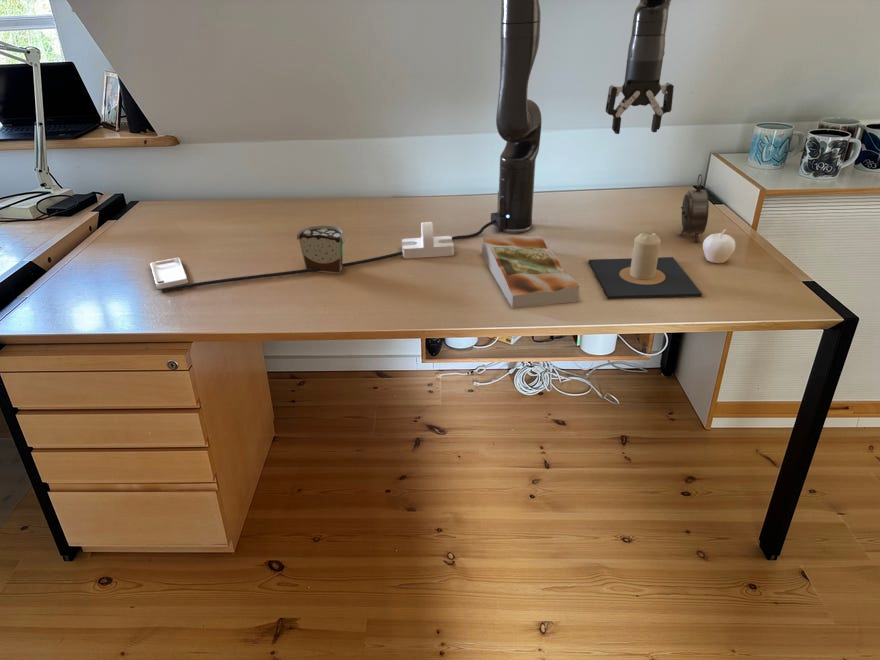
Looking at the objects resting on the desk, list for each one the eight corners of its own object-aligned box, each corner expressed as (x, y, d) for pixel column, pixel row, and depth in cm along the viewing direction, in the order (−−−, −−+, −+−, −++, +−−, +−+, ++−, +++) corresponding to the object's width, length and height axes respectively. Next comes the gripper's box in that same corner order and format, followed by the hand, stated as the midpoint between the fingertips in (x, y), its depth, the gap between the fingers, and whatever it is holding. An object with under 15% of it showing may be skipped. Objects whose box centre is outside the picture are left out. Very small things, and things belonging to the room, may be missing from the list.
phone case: (188, 283, 163) (180, 261, 175) (187, 278, 162) (179, 257, 174) (157, 289, 161) (151, 267, 172) (156, 284, 160) (149, 262, 172)
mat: (607, 299, 146) (608, 295, 145) (588, 262, 163) (588, 259, 162) (701, 296, 145) (702, 293, 144) (672, 260, 162) (672, 256, 161)
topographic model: (481, 254, 169) (482, 236, 167) (537, 249, 171) (538, 231, 168) (512, 307, 144) (513, 286, 142) (577, 301, 145) (579, 280, 143)
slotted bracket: (403, 258, 170) (401, 229, 166) (402, 248, 176) (400, 219, 172) (454, 255, 170) (454, 226, 166) (451, 245, 176) (451, 216, 172)
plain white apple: (717, 268, 156) (725, 236, 152) (693, 258, 162) (699, 227, 157) (738, 262, 159) (746, 230, 155) (714, 252, 164) (720, 221, 160)
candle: (656, 271, 154) (663, 230, 149) (653, 281, 150) (660, 239, 145) (631, 268, 156) (637, 227, 151) (627, 278, 152) (633, 236, 147)
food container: (355, 264, 168) (352, 226, 163) (346, 274, 163) (342, 235, 158) (311, 260, 172) (306, 222, 166) (300, 269, 167) (295, 231, 162)
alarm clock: (703, 244, 169) (716, 180, 160) (681, 243, 170) (692, 180, 161) (696, 228, 178) (708, 167, 169) (675, 228, 179) (685, 167, 170)
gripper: (672, 53, 150) (661, 127, 159) (608, 56, 151) (600, 130, 159) (683, 57, 144) (671, 135, 152) (616, 60, 145) (607, 137, 153)
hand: (635, 132), depth 156 cm, fingers open, 8 cm apart
